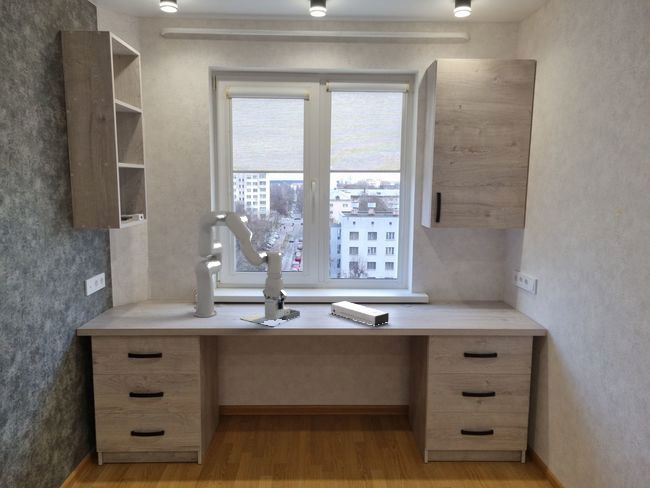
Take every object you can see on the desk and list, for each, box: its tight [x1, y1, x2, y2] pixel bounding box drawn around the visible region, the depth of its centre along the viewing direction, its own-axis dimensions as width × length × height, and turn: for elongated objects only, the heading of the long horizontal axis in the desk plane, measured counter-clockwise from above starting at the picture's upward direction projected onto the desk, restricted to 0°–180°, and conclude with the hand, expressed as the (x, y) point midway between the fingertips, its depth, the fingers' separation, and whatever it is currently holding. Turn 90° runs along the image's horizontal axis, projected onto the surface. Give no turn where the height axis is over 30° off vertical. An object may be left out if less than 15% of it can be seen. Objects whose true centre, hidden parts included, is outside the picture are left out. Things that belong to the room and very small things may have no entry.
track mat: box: [239, 313, 268, 325], centre depth 241 cm, size 24×12×1 cm, turn 54°
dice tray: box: [279, 308, 301, 321], centre depth 249 cm, size 12×12×3 cm
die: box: [284, 306, 291, 315], centre depth 249 cm, size 5×5×5 cm
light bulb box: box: [264, 297, 285, 321], centre depth 236 cm, size 11×7×11 cm, turn 160°
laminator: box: [330, 300, 390, 326], centre depth 249 cm, size 34×12×6 cm, turn 42°
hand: (274, 307), depth 236 cm, fingers closed on light bulb box, 8 cm apart
